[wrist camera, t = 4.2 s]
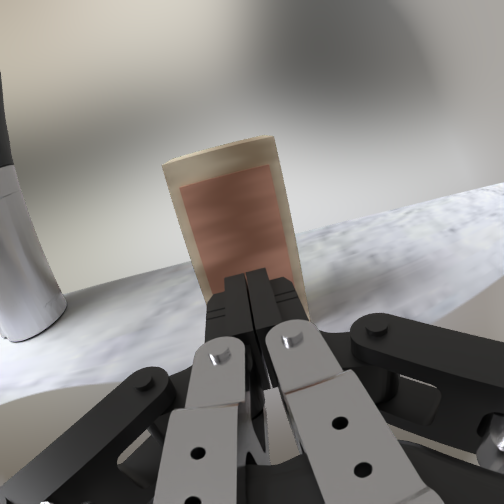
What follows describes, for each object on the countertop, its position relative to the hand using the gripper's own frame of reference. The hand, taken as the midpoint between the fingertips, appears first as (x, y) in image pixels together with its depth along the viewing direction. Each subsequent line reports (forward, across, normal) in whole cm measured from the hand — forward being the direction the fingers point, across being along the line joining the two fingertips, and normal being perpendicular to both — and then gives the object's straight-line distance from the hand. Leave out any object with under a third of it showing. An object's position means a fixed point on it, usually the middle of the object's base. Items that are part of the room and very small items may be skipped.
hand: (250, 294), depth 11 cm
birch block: (+9, 0, +7) cm, 11 cm away
